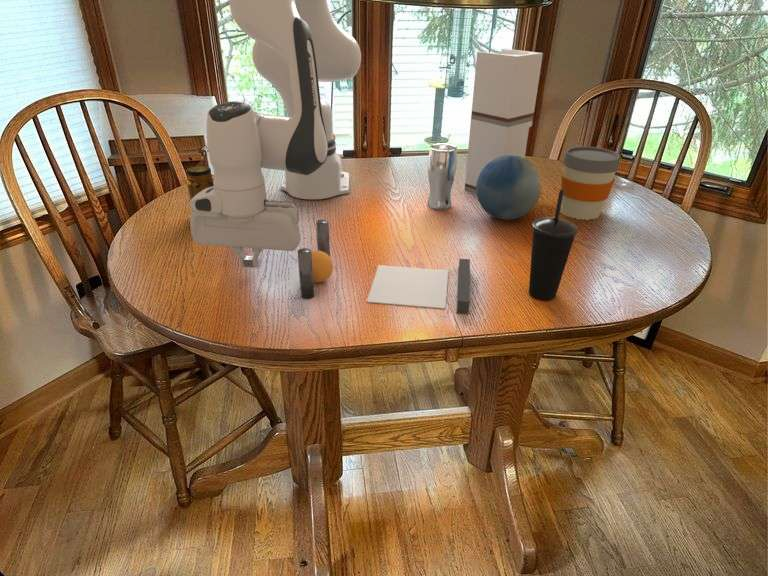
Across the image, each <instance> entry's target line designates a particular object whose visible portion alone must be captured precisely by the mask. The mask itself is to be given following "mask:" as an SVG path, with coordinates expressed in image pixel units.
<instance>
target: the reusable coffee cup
mask: <svg viewBox="0 0 768 576" xmlns="http://www.w3.org/2000/svg"><path fill="white" fill-rule="evenodd" d="M620 157H621V155H620V154H619V153H618V152H616V151H613V150H610V149H607V148H603V147H602V148H601V147H596V146H595V147H594V146H572V147H569V148H567V149H566V151H565V154H564V157H563V161H562V164H563V171H562V173H561V181H560V182H561V183H560V190H564V193H563V198H562V203H561V209H560V212H561V213H562V214H563V215H564V214H565V215H564V216H566V217H568V216H569V217H568V218H570V217H572V218H571V219H574V218H576V219H575V220H579V219H583V220H582V221H591V220H590V219H593V220H596V219H598V218H599V217H600V214H601V212H602V209H603V206H604V203H605V201H606V200H607V199H608V198H609V196H610V194H611V190H612V188H613V186H614V182H615V178H614V177H615V174H616V172H617V171H618V170H619V165H620ZM598 216H599V217H598ZM597 217H598V218H597ZM595 218H596V219H595ZM584 219H585V220H584Z"/></svg>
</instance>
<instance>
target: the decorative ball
mask: <svg viewBox="0 0 768 576" xmlns="http://www.w3.org/2000/svg"><path fill="white" fill-rule="evenodd" d="M541 184H542V183H541V178H540V175H539V172H538V170H537V168H536V167H535V166H534V165H533V164H532V163H531V162H530V161H529V160H527V159H526V158H525V159H524V158H522V157H519V156H514V155H506V156H501V157H498V158H496V159H494V160H492V161H491V162H489V163H488V164H487V165H486V166H485V167H484V168H483V169H482V171H481V173H480V174H479V177H478V180H477V185H476V194H475V195H476V198H477V201H478V203H479V205H480V206H481V208H482V209H483V211H485V212H486V213H487V214H488V215H490V216H492V217H493V218H496V219H499V220H515V219H519V218H521V217H523V216H525V215H526V214H528V213H529V212H530V211H531V210H533V208H534V207H535V205H537V203H538V201H539V199H540V195H541V190H542V189H541V187H542V186H541Z"/></svg>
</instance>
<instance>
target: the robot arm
mask: <svg viewBox="0 0 768 576" xmlns="http://www.w3.org/2000/svg"><path fill="white" fill-rule="evenodd" d="M228 3H229V10H230V13H231V14H230V15H231V17H232V19H233V20H234V22H235V23H236V25H237V26H238V27H239V29H241V31H242V32H243V33H244V34H245V35H247V36H248V37H250V38H251V39H253V40H255V42H254V43H253V46H252V55H251V56H252V62H253V65H254V67H255V69H256V71H257V73H258V74H259V75H260V76H261V77H262V78H264V79H265V80H266V81H267V82H269V83H270V85H272V86H273V87H274V89H276V91H277V93H278V94H279V96H280V97H281V99H282V101H283V103H284V106H285V110H286V115H287V116H282V115H281V116H280V115H269V114H264V113H263V114H262V113H259V112H256V111H254V109H253V107H252V105H250V104H249V103H248V102H244V101H238V100H237V101H235V100H234V101H226V102H223V103H222V102H221V103H219V104H216V105H214V106H212V107H211V108H210V109H209V110H208V112H207V116H206V143H207V152H208V158H209V163H210V165H211V166H212V169H213V174H214V175H213V179H214V181H213V184H214V186H213V187H209V188H206V189H204V190H202V191H201V192H199V193H198V194H197V195H195V196H194V197H193V198H192V199H191V200H190V199H189V200H190V201H189V207H190V210H191V211H192V210H193V212H190V215H189V216H190V217H189V222H190V223H189V226H190V232H191V233H190V234H191V238H192V240H193V241H194V242H195V243H196V244H197V245H204V246H205V245H206V246H216V247H217V246H220V247H231V248H232V251H233V252H234V254H235V255H236V256H237V258H238V259H239V260H240V266H241V268H242V267H243V268H252V269H253V268H255V269H257V268H258V267H259V264H260V261H259V257H260V255H261V252H262V251H263V250H272V251H273V250H274V251H285V252H294V251H295V250H296V249H297V248H298V246H299V245H300V242H301V239H302V238H301V232H300V226H299V219H300V218H299V217H300V216H299V210H298V207H297V206H296V205H294V204H293V203H290V201H288V200H275V199H274V200H273V199H267V192H266V182H265V181H266V180H265V177H264V174H263V172H262V168H263V169H265V170H267V169H268V170H277V171H283V172H285V173H284V176H285V182H284V183H282V184H281V185H280V190H282V191H284V192H287V194H288V195H290V196H292V197H294V198H296V199H302V200H323V199H328V198H333V197H336V196H340V195H347V194H349V193H350V173H349V172H347V171H343V170H342V158H341V157H340V155H339V154H338V153H337V147H336V146H337V143H336V134H335V133H334V128H333V127H334V126H333V125H334V124H333V122H334V121H333V110H332V107H331V105H330V104H329V102H328V101H326V100H325V99H324V98H322V97H321V93H320V83H321V82H322V83H323V82H324V83H325V82H327V83H335V82H342V81H347V80H351V79H353V78H354V77H355V76H356V75H357V73H358V72H359V69H360V67H361V63H362V51H361V48H360V45H359V43H358V42H357V40H356V39H355V37H353V35H351V34H349V33H348V32H346V31H345V30H344V29H343V28H342V27H341V26H340V25H339V24H338V23H337V21H336V19H335V18H334V17H333V15H332V13H331V11H330V8H329V5H328V1H327V0H228ZM245 248H246V249H247V248H248V249H251V252H252V253H253V254H254V255H247V253H246V251H245V250H244V249H245Z"/></svg>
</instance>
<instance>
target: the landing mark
mask: <svg viewBox="0 0 768 576" xmlns="http://www.w3.org/2000/svg"><path fill="white" fill-rule="evenodd" d="M376 268H377V269H376V271H375V272H376V273H375V275H374V278H373V281H372V284H371V288H370V291H369V293H368V296H367V299H366V303H371V304H384V305H395V306H405V307H406V306H409V307H416V308H417V307H418V308H419V307H420V308H430V309H431V308H432V309H443V310H446V305H447V293H448V291H447V290H448V278H449V270H448V269H445V270H444V269H433V268H432V269H431V268H421V267H420V268H419V267H411V266H410V267H409V266H407V267H406V266H395V265H385V264H384V265H383V264H382V265H381V264H378V266H377V267H376Z"/></svg>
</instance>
